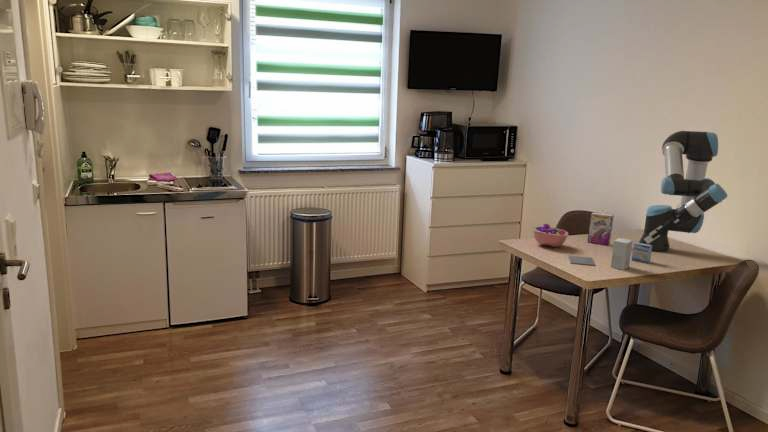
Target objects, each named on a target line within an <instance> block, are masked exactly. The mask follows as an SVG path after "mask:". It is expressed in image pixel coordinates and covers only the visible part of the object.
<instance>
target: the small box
mask: <svg viewBox="0 0 768 432" xmlns="http://www.w3.org/2000/svg"><path fill="white" fill-rule="evenodd" d="M632 250H633V240H632V239H629V238H628V239H627V238H622V237H618V238H617V239H614V240H613V245H612V254H611V259H610V260H611V261H610V268H612V269H613V268H614V269H618V270H621V271H622V270H623V271H624V270H627V268H628V269H629V267H630V264H631V257H632Z"/></svg>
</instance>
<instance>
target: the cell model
mask: <svg viewBox="0 0 768 432" xmlns="http://www.w3.org/2000/svg"><path fill="white" fill-rule="evenodd" d="M532 233H533V238H534V239H535V241H536V242H537V243H538V244H540V245H543V246H547V247H551V248H557V247H560V246H562V245H564V244H565V243H566V240H567V238H568V237H569V232H568V231H566V230H564V229H563V228H562V229H561V228H558V227H557V228H556V227H551V225H550V224H548V223H543V224H541V226H537V227H533V228H532Z"/></svg>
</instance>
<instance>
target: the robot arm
mask: <svg viewBox="0 0 768 432" xmlns="http://www.w3.org/2000/svg"><path fill="white" fill-rule="evenodd" d="M661 146H662V147H661V152H662V154H663V156H664V168H665V170H664V172H665V177H663V178H662V180H661V184H660V192H661V194H664V195H669V196H680V197H681V199H680V203H678V204H677V205H676V208H673V207H672V206H671V205H666V204H655V205H651V206H648V207H647V209H646V213H645V222H644V229H643V234H642V236H641V237H640V239H639V241H638V243H643V244H648V245H653V246H652V252H659V253H660V252H661V253H662V252H664V253H665V252H669V251H670V242H669V236H668V235H669V231H670V232H679V233H687V234H697V233H699V232H700V231H701V229H702V227H703V224H704V219H705V214H704V213H706V212H707V211H709V210H710V209H712V208H713V207H715V206H717V205H718V204H719V203H722V202H723V201H724V200H725V199H726V198H727V197H728V193H727V192H726V190H725V189H724V188H723V187H722V186H721V185H720V184H718V183H715V181H714V180H712V179H711V178H709V177H706V173H707V168H708V165H709V163H710V162H712V161H713V158H716V157H717V156H718V153H719V139H718V135H717V133H715V132H709V131H695V130H694V131H690V130H681V131H677V132H673V133H672V134H670V135H669V136H668V137H666V139H665V140H664V141H663V144H662V145H661ZM683 155H685V158H686V160H687V161H688V164H687V169H686V174H685V172H684V171H685V170H684V162H683V161H684V160H683Z"/></svg>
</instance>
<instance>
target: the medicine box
mask: <svg viewBox="0 0 768 432" xmlns="http://www.w3.org/2000/svg"><path fill="white" fill-rule="evenodd" d="M652 246H653V245H648V244H643V243H639V242H637V241H636V242H634V243H633V244H632V251H631V258H630V261H633V262H638V263H639V262H640V263H643V264H649V263H650V262H651V258H652V252H653V251H652Z"/></svg>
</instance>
